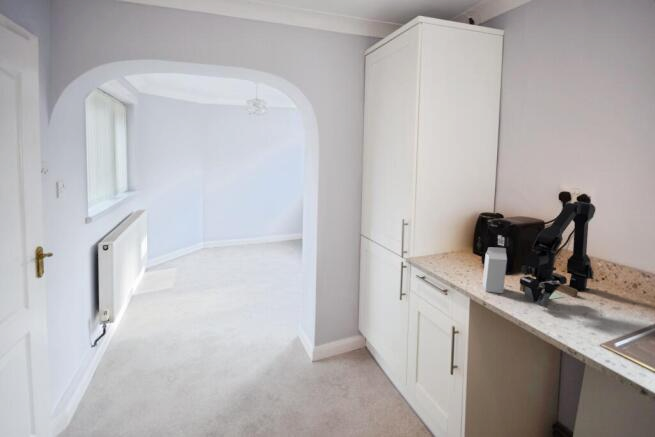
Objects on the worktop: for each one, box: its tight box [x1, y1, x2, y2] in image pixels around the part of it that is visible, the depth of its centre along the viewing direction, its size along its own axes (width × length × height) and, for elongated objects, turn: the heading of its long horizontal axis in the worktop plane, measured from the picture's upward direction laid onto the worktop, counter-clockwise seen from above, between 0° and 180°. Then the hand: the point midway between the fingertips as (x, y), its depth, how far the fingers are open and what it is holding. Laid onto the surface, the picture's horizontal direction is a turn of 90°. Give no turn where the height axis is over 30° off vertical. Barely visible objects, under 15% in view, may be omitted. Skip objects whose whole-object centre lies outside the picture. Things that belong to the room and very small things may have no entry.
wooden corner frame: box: [519, 281, 579, 298], centre depth 160 cm, size 18×13×3 cm
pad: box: [543, 288, 565, 300], centre depth 160 cm, size 9×9×1 cm
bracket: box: [523, 286, 550, 307], centre depth 153 cm, size 9×6×5 cm, turn 19°
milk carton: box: [482, 246, 508, 294], centre depth 162 cm, size 7×7×19 cm
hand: (540, 300), depth 151 cm, fingers open, 5 cm apart
